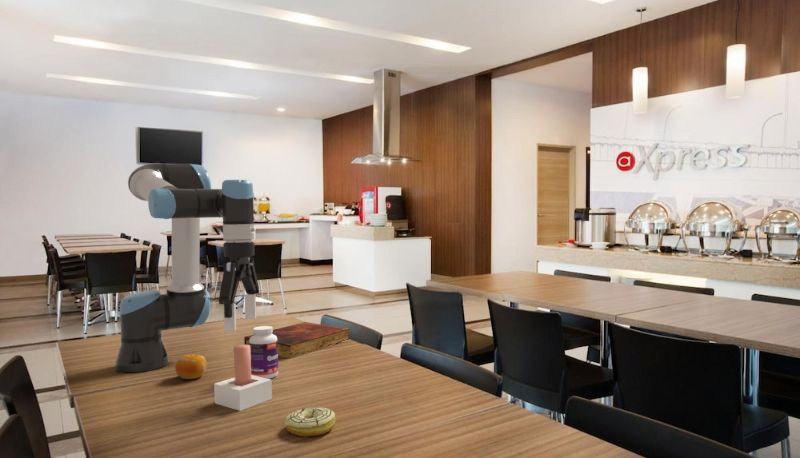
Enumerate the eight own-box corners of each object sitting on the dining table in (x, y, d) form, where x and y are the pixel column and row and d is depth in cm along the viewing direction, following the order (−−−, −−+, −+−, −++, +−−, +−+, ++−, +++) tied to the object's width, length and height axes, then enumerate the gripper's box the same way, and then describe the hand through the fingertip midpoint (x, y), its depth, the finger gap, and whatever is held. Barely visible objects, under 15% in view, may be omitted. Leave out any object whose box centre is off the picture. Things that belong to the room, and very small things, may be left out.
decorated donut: (301, 418, 127) (300, 402, 127) (343, 423, 123) (342, 406, 123) (277, 435, 117) (276, 418, 117) (321, 441, 113) (321, 423, 113)
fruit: (217, 363, 162) (200, 342, 161) (197, 381, 155) (179, 359, 154) (202, 372, 166) (186, 352, 165) (182, 390, 159) (165, 369, 158)
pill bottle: (271, 381, 155) (269, 331, 154) (245, 380, 156) (243, 330, 156) (282, 373, 163) (281, 325, 162) (258, 372, 164) (256, 324, 164)
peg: (232, 401, 138) (230, 347, 138) (245, 397, 141) (243, 343, 141) (242, 404, 136) (240, 349, 136) (255, 400, 139) (253, 345, 139)
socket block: (214, 403, 137) (214, 383, 137) (246, 392, 146) (246, 373, 145) (240, 410, 132) (239, 390, 132) (272, 398, 140) (271, 379, 140)
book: (305, 334, 217) (305, 322, 217) (350, 341, 203) (350, 328, 203) (244, 350, 193) (243, 336, 193) (290, 360, 179) (290, 345, 179)
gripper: (233, 244, 125) (235, 336, 126) (269, 238, 149) (271, 314, 150) (202, 244, 125) (204, 335, 126) (243, 238, 150) (245, 314, 151)
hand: (240, 324), depth 138 cm, fingers open, 13 cm apart
